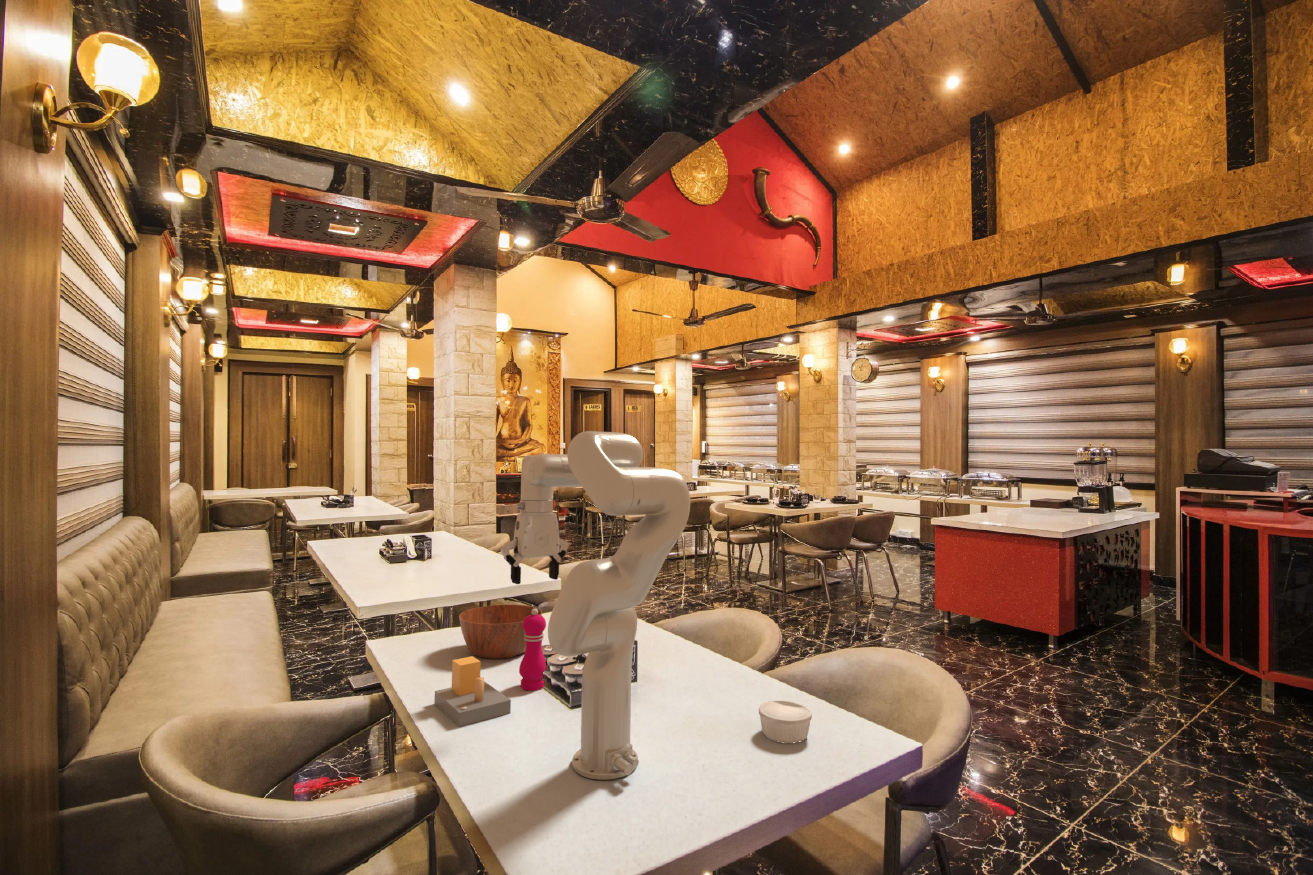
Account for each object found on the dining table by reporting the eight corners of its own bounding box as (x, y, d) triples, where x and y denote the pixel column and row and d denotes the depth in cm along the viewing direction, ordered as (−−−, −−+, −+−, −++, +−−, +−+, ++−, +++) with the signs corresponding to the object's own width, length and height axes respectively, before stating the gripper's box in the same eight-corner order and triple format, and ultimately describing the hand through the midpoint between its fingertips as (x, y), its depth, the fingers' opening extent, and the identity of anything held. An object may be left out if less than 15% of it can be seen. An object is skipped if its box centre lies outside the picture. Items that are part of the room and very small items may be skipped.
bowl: (518, 635, 201) (519, 601, 202) (556, 653, 182) (557, 615, 182) (445, 648, 185) (446, 611, 186) (477, 670, 166) (479, 628, 167)
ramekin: (812, 727, 132) (812, 703, 132) (811, 750, 121) (811, 723, 122) (761, 720, 135) (761, 697, 135) (756, 742, 124) (756, 716, 125)
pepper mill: (550, 682, 157) (552, 605, 158) (542, 692, 150) (544, 612, 151) (523, 680, 158) (525, 604, 159) (514, 690, 151) (516, 611, 152)
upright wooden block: (479, 691, 143) (480, 661, 143) (459, 695, 139) (460, 665, 140) (471, 684, 146) (472, 656, 147) (451, 689, 143) (452, 660, 144)
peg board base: (510, 713, 137) (511, 677, 138) (459, 726, 130) (460, 689, 130) (482, 692, 150) (483, 660, 150) (434, 703, 142) (435, 669, 143)
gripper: (509, 509, 132) (507, 587, 131) (576, 507, 143) (575, 579, 142) (495, 507, 137) (493, 582, 137) (560, 505, 148) (559, 574, 147)
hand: (535, 580), depth 139 cm, fingers open, 9 cm apart
